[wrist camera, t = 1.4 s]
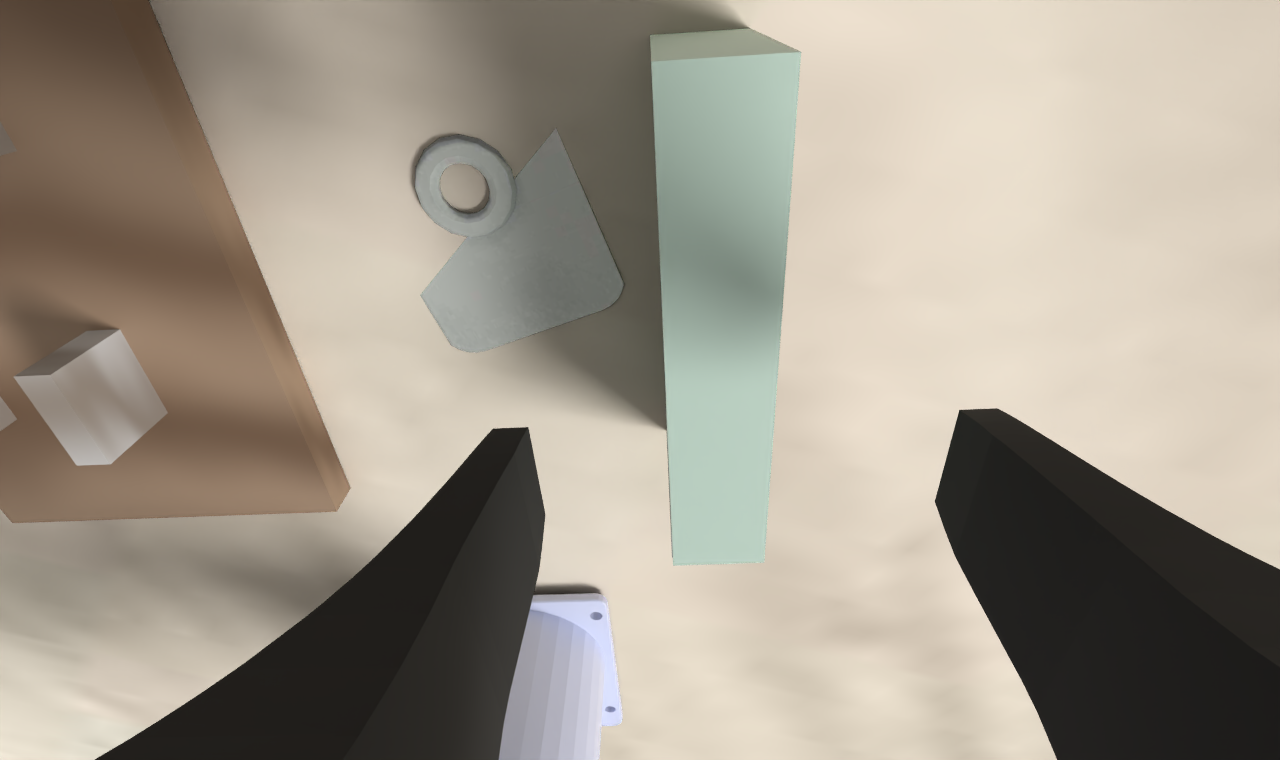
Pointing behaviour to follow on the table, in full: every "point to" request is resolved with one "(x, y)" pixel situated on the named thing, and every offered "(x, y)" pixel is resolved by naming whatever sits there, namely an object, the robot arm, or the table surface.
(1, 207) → the cabinet base
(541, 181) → the mounting bracket
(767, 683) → the table surface
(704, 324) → the door panel
